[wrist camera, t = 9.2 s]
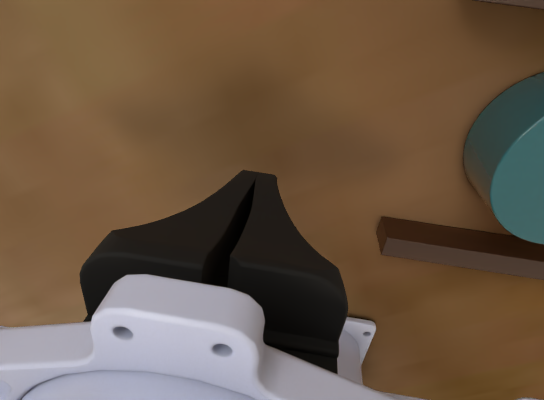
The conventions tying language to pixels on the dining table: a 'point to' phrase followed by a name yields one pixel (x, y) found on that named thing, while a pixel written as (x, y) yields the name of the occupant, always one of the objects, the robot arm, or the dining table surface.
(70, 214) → the dining table surface
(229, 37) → the dining table surface
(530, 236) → the teal puck
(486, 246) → the walnut bay
